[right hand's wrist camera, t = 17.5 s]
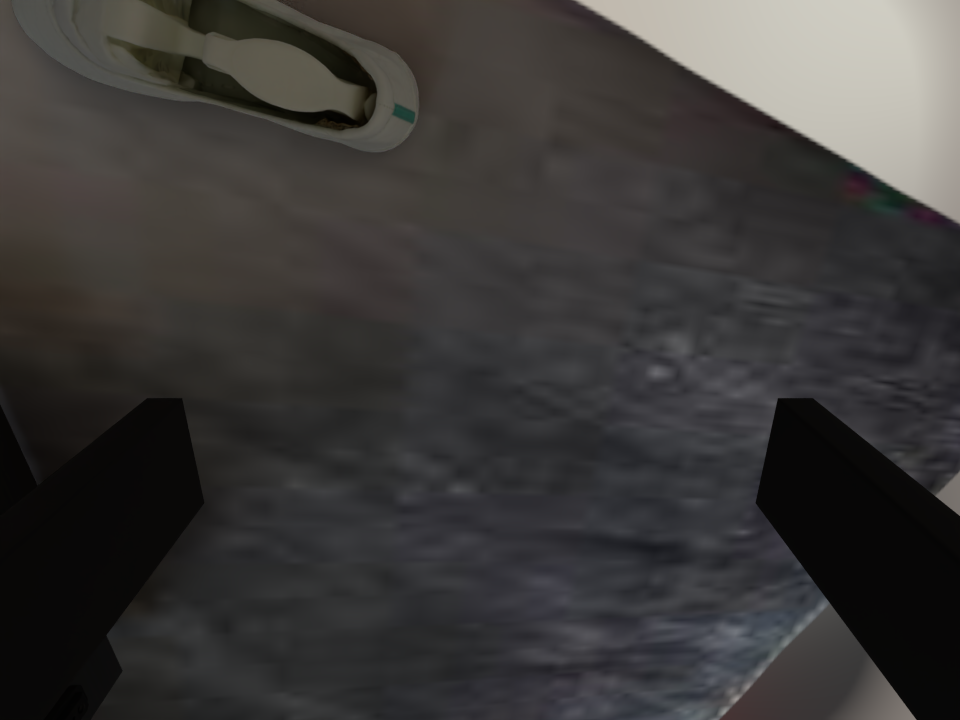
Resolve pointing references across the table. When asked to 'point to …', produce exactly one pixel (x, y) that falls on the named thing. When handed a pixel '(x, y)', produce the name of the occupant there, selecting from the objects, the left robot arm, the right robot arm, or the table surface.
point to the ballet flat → (235, 62)
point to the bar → (3, 484)
